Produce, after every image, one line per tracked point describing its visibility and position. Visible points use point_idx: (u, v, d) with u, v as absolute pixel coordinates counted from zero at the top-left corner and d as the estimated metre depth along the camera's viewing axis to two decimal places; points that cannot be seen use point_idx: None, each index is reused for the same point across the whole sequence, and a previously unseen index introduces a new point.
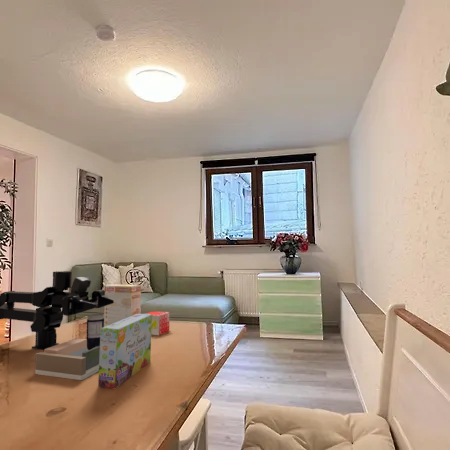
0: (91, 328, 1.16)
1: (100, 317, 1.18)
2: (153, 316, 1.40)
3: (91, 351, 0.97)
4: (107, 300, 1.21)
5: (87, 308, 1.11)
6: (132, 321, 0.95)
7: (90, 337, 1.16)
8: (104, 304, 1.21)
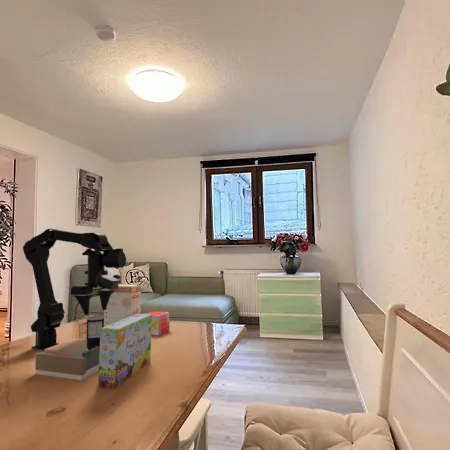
0: (91, 328, 1.16)
1: (100, 317, 1.18)
2: (153, 316, 1.40)
3: (91, 351, 0.97)
4: (104, 303, 1.23)
5: (82, 307, 1.14)
6: (132, 321, 0.95)
7: (90, 337, 1.16)
8: (101, 299, 1.24)
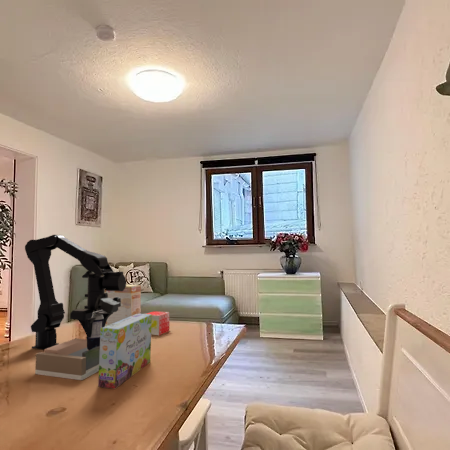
0: None
1: (100, 317, 1.18)
2: (153, 316, 1.40)
3: (91, 351, 0.97)
4: None
5: (85, 330, 1.15)
6: (132, 321, 0.95)
7: None
8: None
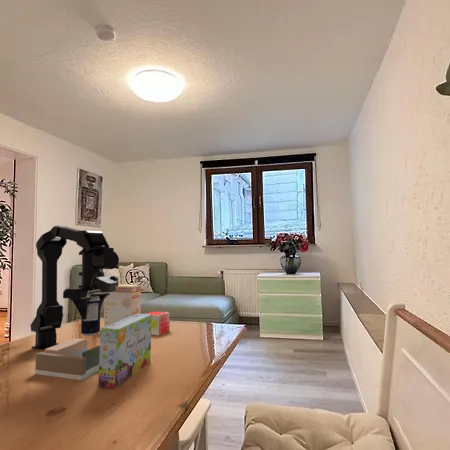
0: None
1: (96, 298, 1.08)
2: (153, 316, 1.40)
3: (91, 351, 0.97)
4: None
5: (80, 311, 1.05)
6: (132, 321, 0.95)
7: (85, 320, 1.06)
8: None
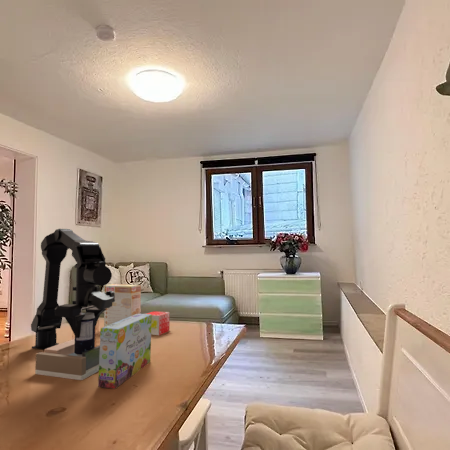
0: None
1: (90, 316, 1.01)
2: (153, 316, 1.40)
3: (91, 351, 0.97)
4: None
5: (73, 329, 0.99)
6: (132, 321, 0.95)
7: (78, 340, 0.99)
8: None
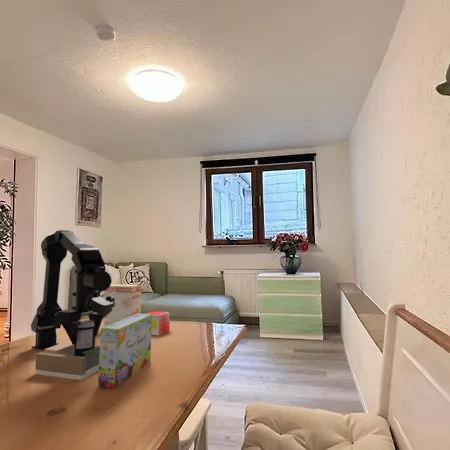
0: (79, 338, 0.99)
1: (90, 324, 1.01)
2: (153, 316, 1.40)
3: (91, 351, 0.97)
4: (95, 329, 1.06)
5: (69, 335, 0.97)
6: (132, 321, 0.95)
7: (78, 348, 0.99)
8: None
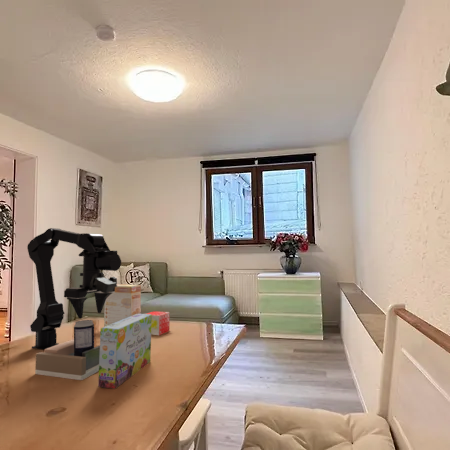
0: (78, 337, 0.99)
1: (89, 323, 1.01)
2: (153, 316, 1.40)
3: (91, 351, 0.97)
4: (100, 306, 1.20)
5: (76, 310, 1.11)
6: (132, 321, 0.95)
7: (77, 347, 0.99)
8: (97, 302, 1.21)
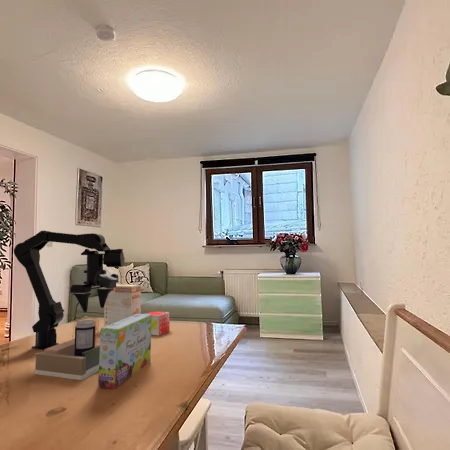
0: (79, 338, 0.99)
1: (91, 324, 1.01)
2: (153, 316, 1.40)
3: (91, 351, 0.97)
4: (102, 301, 1.28)
5: (81, 304, 1.19)
6: (132, 321, 0.95)
7: (78, 348, 0.99)
8: (99, 297, 1.29)
